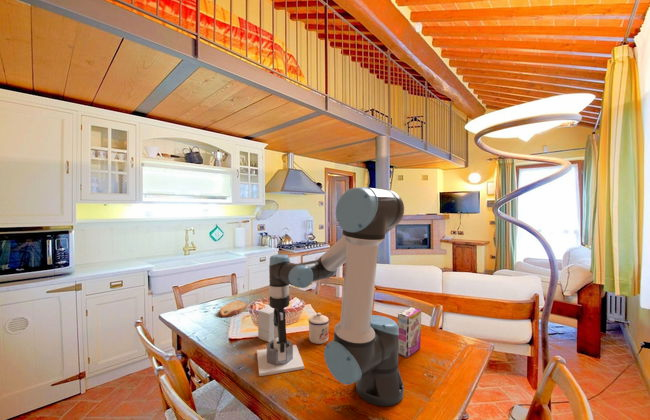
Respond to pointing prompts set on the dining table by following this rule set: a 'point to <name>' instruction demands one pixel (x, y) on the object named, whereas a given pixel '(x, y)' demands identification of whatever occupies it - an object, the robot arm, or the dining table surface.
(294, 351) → the post
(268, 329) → the supplement box
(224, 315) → the slice of bread
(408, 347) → the candy bar box
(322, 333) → the teacup with lid
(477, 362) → the dining table surface
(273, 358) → the ring
